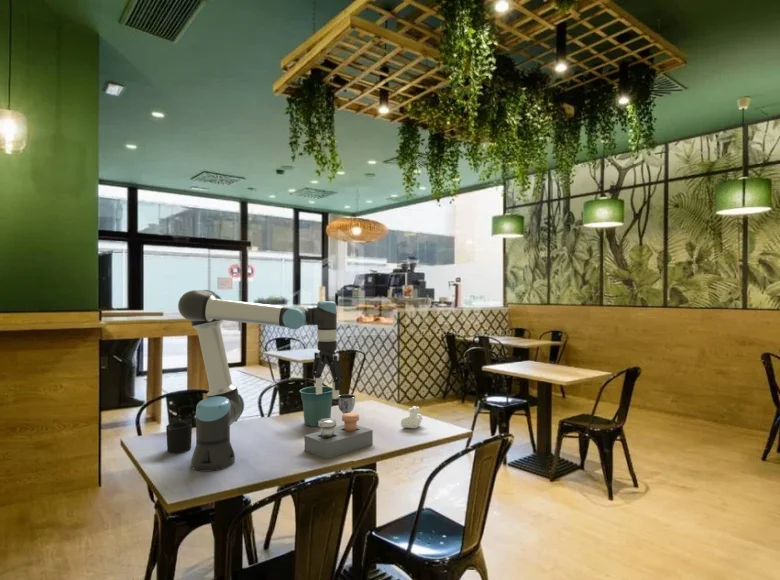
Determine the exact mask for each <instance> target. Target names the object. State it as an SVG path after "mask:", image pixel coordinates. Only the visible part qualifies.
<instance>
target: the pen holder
mask: <svg viewBox="0 0 780 580" xmlns="http://www.w3.org/2000/svg"><path fill="white" fill-rule="evenodd" d="M165 428H166V431H165V432H166V448H167V452H168V453H169V452H170V454H180V453H181V452H182V453H185V452H188V451H190V450H191V448H192V435H193V431H192V429H193V423H187V422H185V421H175V422H172V423H168V424H166V426H165Z"/></svg>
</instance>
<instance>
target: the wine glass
mask: <svg viewBox="0 0 780 580" xmlns="http://www.w3.org/2000/svg"><path fill="white" fill-rule="evenodd" d="M355 405H356V396H355V394H349V393H348V394H346V393H345V394H339V398H337V406H338V408H339V410H340V412H341V413H342V414H345V413H352V411H353V410H354V408H355Z"/></svg>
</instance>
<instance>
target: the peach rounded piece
mask: <svg viewBox="0 0 780 580" xmlns="http://www.w3.org/2000/svg"><path fill="white" fill-rule="evenodd" d="M359 420H360V414H359V413H356V412H350V413H345V414H343V413H342V415H341V422H344V424H343V425H344V431H346V432H349V433H350V432H353V431H357V425H358V424H357V423H358V421H359Z"/></svg>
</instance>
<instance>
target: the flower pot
mask: <svg viewBox="0 0 780 580" xmlns="http://www.w3.org/2000/svg"><path fill="white" fill-rule="evenodd" d="M299 393H300V396H301V397H300V398H301V401H302V411H303V421H304V425H306V426H309V427H310V426H311V427H318V428H319V426H318V421H319V420H321V419H326V418H331V419H332V417H331V415H332V401H333V399H332V386H325V385H324V386H323V385H322V394H318V395H316V386H308V387H303V388H301V389H300V390H299Z"/></svg>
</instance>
